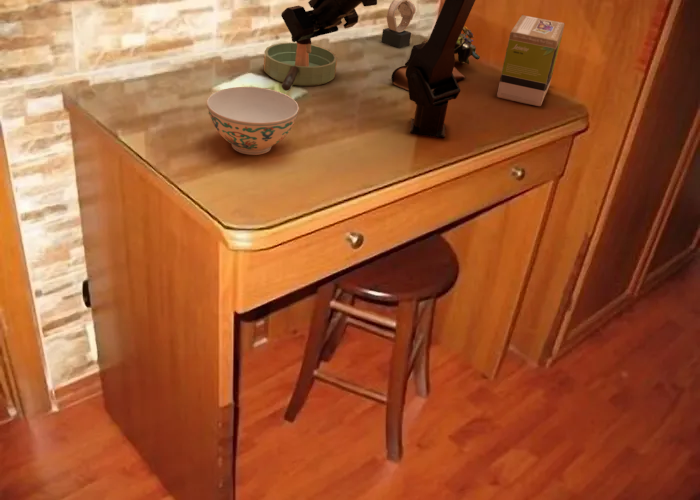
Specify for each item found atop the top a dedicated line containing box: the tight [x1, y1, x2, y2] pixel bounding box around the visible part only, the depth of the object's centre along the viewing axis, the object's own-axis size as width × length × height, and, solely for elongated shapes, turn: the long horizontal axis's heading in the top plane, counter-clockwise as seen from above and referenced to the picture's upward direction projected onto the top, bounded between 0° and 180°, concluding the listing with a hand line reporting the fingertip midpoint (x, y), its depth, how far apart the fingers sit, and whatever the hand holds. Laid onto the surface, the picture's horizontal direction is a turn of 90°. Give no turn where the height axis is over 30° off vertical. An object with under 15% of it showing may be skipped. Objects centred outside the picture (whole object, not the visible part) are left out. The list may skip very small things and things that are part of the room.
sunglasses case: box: [391, 64, 467, 92], centre depth 161 cm, size 18×7×7 cm, turn 139°
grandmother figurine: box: [291, 38, 312, 66], centre depth 153 cm, size 8×4×13 cm, turn 42°
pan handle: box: [281, 66, 299, 92], centre depth 144 cm, size 11×2×2 cm, turn 174°
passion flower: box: [420, 25, 481, 65], centre depth 170 cm, size 11×11×12 cm
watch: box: [381, 0, 417, 49], centre depth 179 cm, size 6×8×11 cm
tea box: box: [496, 14, 565, 107], centre depth 159 cm, size 15×10×15 cm
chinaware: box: [206, 86, 300, 156], centre depth 123 cm, size 15×15×8 cm
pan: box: [263, 42, 338, 87], centre depth 155 cm, size 15×15×4 cm
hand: (297, 38), depth 153 cm, fingers closed on grandmother figurine, 3 cm apart
